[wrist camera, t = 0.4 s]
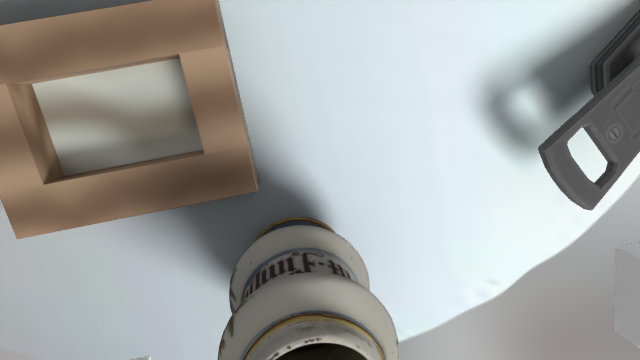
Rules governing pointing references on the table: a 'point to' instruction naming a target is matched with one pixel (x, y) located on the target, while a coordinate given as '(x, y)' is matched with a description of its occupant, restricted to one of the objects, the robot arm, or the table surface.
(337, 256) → the apothecary jar
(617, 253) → the robot arm
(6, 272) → the table surface
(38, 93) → the block
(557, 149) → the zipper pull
